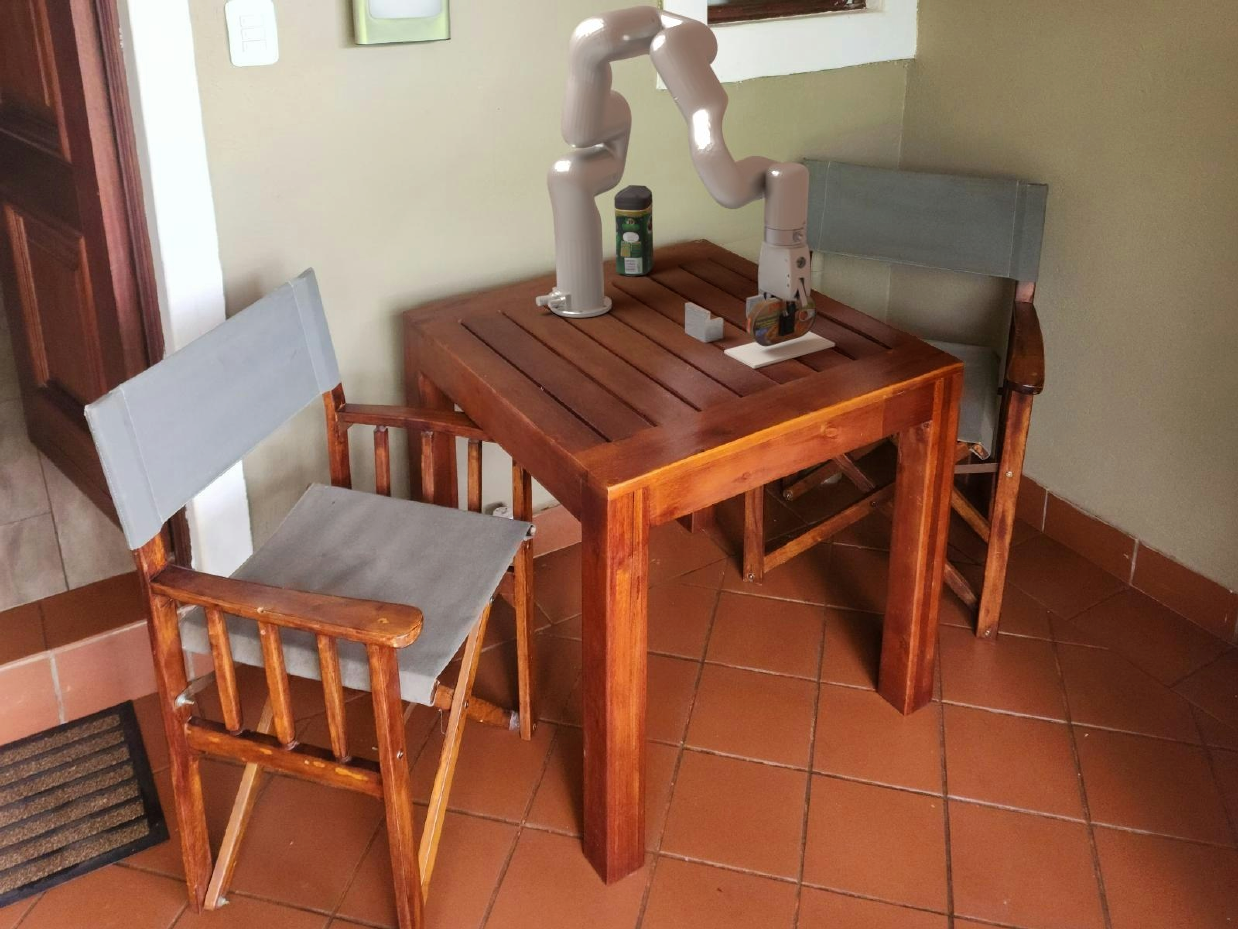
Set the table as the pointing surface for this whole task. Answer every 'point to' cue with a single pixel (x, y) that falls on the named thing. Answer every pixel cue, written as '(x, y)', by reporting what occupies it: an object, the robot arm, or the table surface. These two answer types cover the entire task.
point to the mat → (778, 350)
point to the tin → (766, 321)
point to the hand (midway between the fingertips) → (780, 330)
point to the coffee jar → (634, 230)
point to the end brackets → (710, 320)
